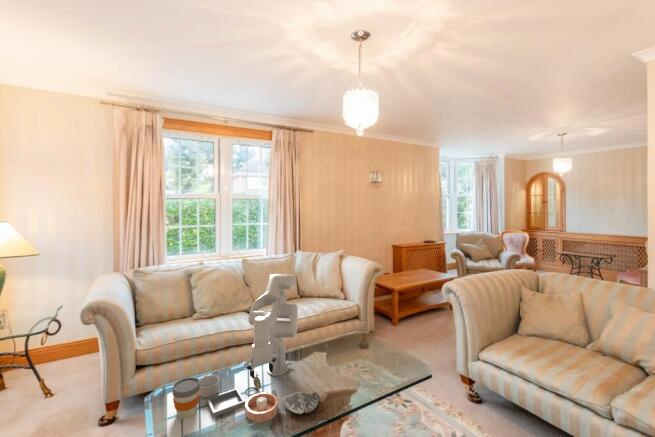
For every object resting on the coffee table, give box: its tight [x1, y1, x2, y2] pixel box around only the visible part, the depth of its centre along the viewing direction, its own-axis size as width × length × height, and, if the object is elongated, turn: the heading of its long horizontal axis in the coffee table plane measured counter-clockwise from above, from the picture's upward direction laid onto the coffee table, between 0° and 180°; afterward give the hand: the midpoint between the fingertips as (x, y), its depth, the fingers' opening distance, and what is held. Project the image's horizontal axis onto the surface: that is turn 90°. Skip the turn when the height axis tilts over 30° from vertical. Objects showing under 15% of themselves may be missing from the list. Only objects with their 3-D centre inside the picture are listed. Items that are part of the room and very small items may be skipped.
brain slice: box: [282, 390, 321, 415], centre depth 166 cm, size 20×17×3 cm
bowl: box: [244, 392, 279, 423], centre depth 162 cm, size 16×16×4 cm
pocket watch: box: [244, 372, 262, 396], centre depth 177 cm, size 8×8×10 cm
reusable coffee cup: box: [171, 377, 200, 420], centre depth 159 cm, size 13×13×15 cm
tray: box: [206, 387, 246, 418], centre depth 166 cm, size 16×13×3 cm
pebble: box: [257, 397, 267, 412], centre depth 162 cm, size 5×5×5 cm
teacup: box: [199, 374, 220, 399], centre depth 175 cm, size 14×11×8 cm
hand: (261, 374), depth 161 cm, fingers open, 9 cm apart
